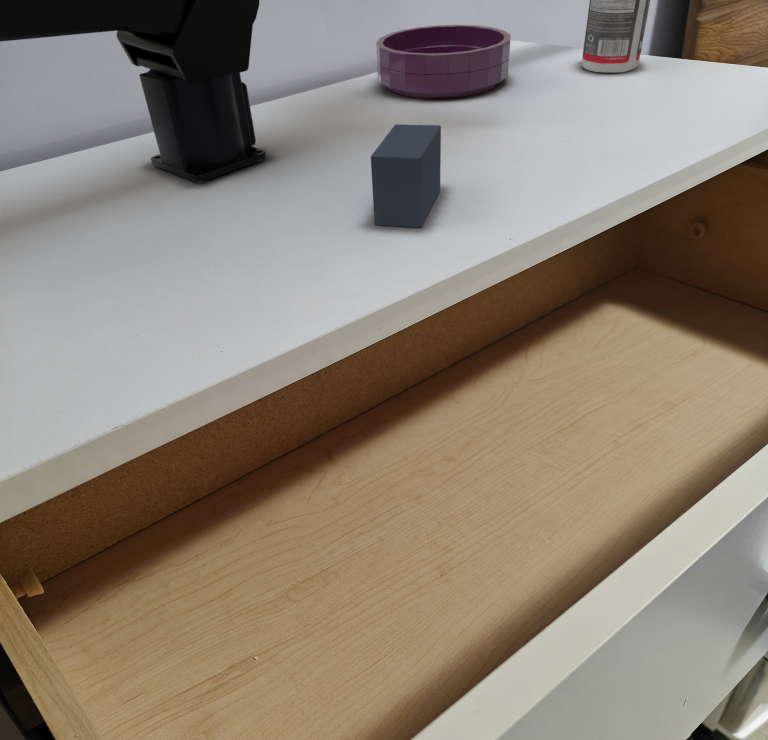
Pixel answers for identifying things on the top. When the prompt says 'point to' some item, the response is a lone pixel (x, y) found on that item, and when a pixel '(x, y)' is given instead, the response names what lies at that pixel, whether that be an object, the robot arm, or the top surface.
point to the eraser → (406, 175)
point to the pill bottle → (614, 35)
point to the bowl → (443, 60)
